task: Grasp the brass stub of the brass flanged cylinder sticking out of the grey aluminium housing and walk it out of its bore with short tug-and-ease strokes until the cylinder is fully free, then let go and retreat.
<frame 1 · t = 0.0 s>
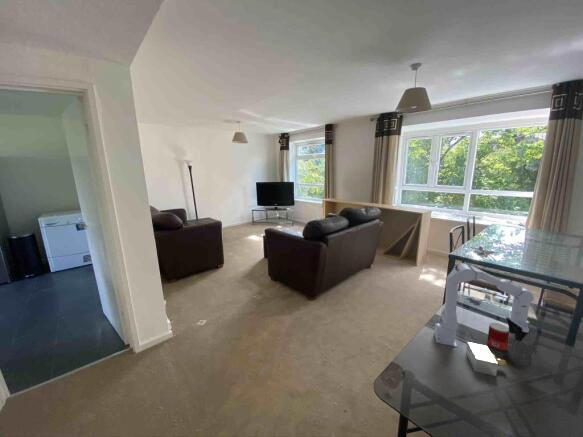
hand: (515, 336, 116), 10 cm above the table, fingers open, 5 cm apart
brass flanged cylinder: (491, 360, 110), point 3 cm above the table, slide at 0.0 cm
housing: (479, 363, 112), on the table
canned food: (496, 346, 124), on the table, touching gripper
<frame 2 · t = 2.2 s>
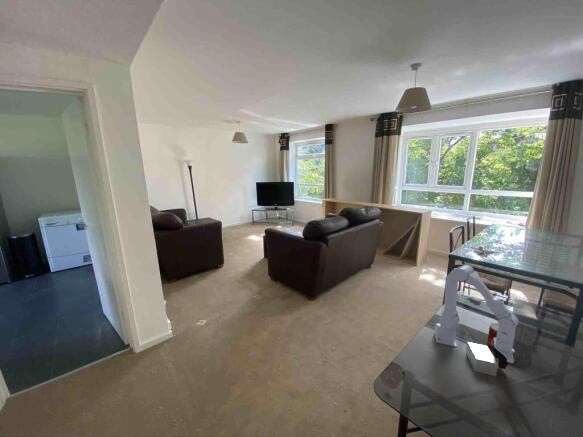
hand: (500, 365, 109), 2 cm above the table, fingers closed on brass flanged cylinder, 3 cm apart
brass flanged cylinder: (491, 360, 110), point 3 cm above the table, slide at 0.0 cm, touching gripper
canned food: (496, 346, 124), on the table
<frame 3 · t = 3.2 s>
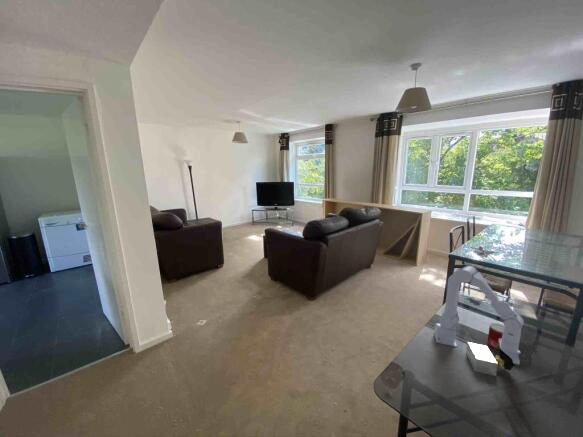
hand: (505, 366, 109), 2 cm above the table, fingers closed on brass flanged cylinder, 3 cm apart
brass flanged cylinder: (496, 361, 110), point 3 cm above the table, slide at 1.9 cm, touching gripper
everything else where it was.
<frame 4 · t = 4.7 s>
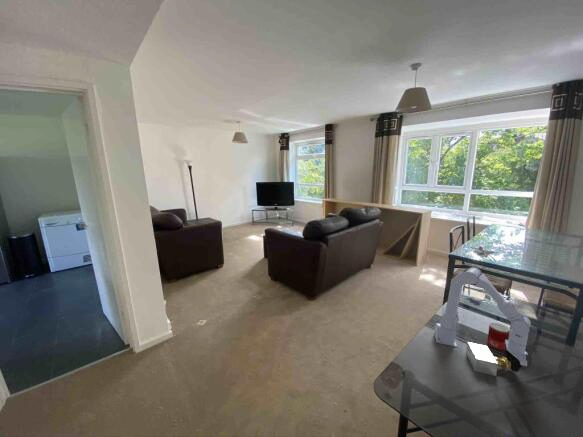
hand: (512, 367, 108), 2 cm above the table, fingers closed on brass flanged cylinder, 3 cm apart
brass flanged cylinder: (502, 363, 109), point 3 cm above the table, slide at 4.4 cm, touching gripper
everything else where it was.
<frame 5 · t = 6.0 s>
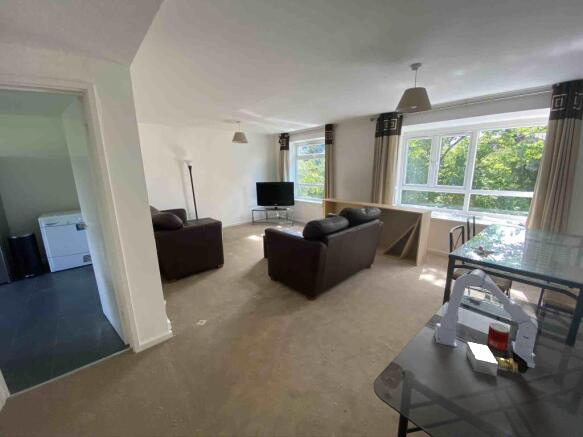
hand: (519, 369, 107), 2 cm above the table, fingers closed on brass flanged cylinder, 3 cm apart
brass flanged cylinder: (509, 364, 108), point 3 cm above the table, slide at 6.8 cm, touching gripper
everything else where it was.
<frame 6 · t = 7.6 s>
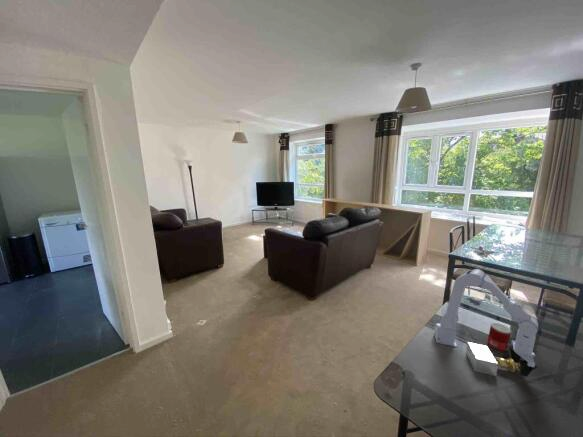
hand: (519, 368, 107), 2 cm above the table, fingers open, 7 cm apart
brass flanged cylinder: (509, 364, 108), point 3 cm above the table, slide at 6.8 cm
everything else where it was.
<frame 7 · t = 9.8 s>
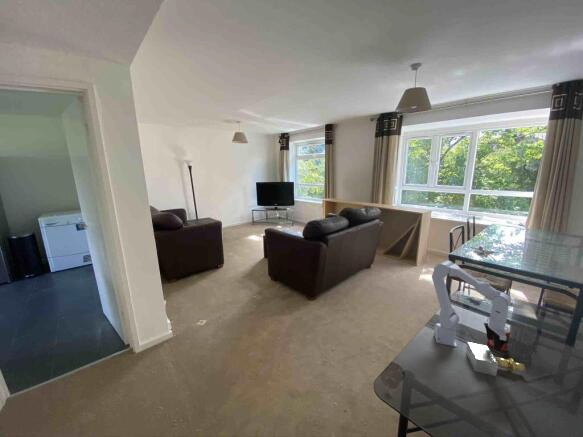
hand: (493, 344, 112), 10 cm above the table, fingers open, 7 cm apart
nothing on the table moved.
at the end: brass flanged cylinder slide at 6.8 cm; the gripper is holding nothing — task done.
